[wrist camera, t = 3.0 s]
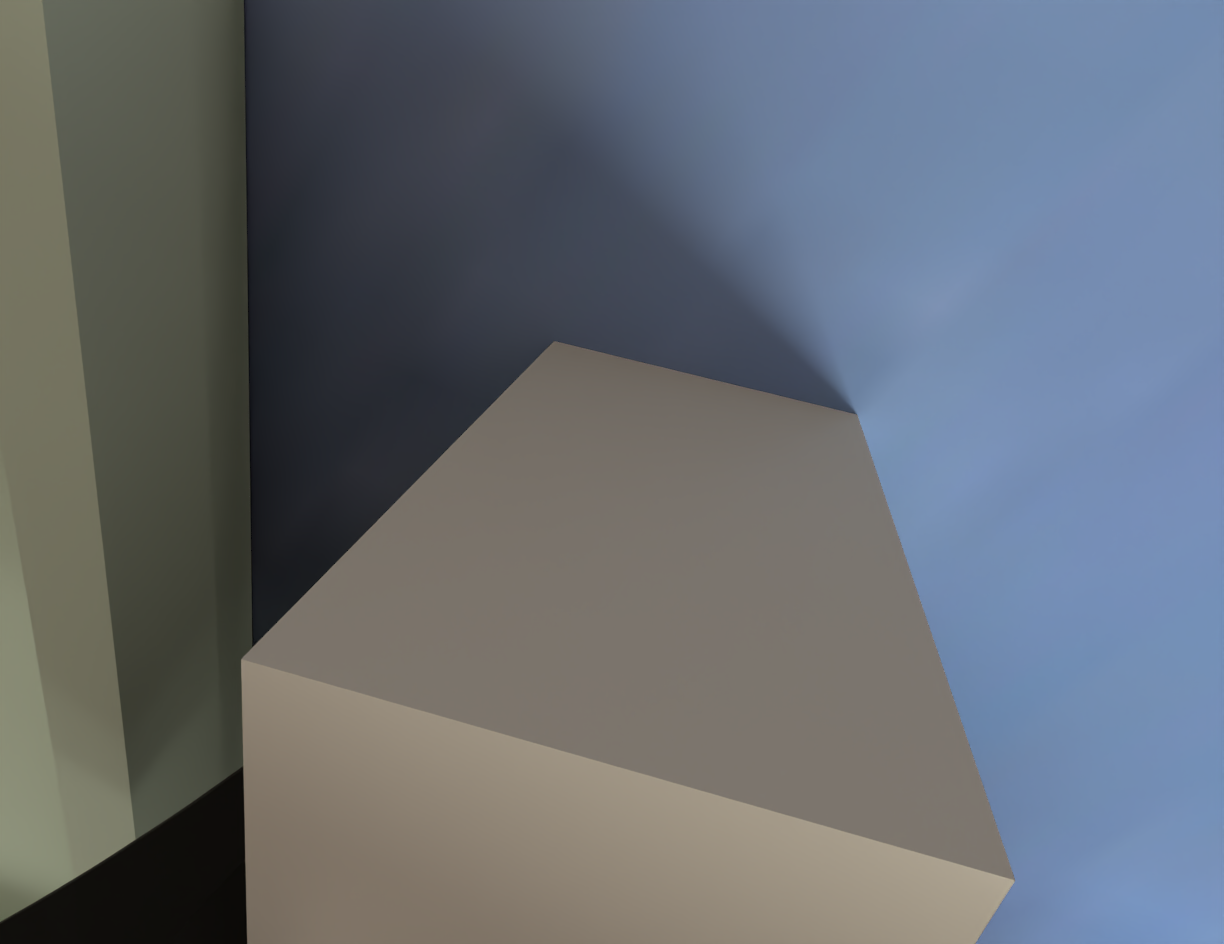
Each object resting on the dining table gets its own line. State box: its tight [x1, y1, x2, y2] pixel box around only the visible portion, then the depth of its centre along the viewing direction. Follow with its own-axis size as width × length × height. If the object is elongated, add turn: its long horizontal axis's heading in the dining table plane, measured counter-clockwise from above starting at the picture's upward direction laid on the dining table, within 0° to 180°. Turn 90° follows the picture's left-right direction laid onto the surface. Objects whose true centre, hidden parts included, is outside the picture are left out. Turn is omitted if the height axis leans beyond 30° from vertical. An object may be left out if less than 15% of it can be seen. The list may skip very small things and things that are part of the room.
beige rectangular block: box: [241, 341, 1015, 944], centre depth 8 cm, size 4×11×6 cm, turn 169°
